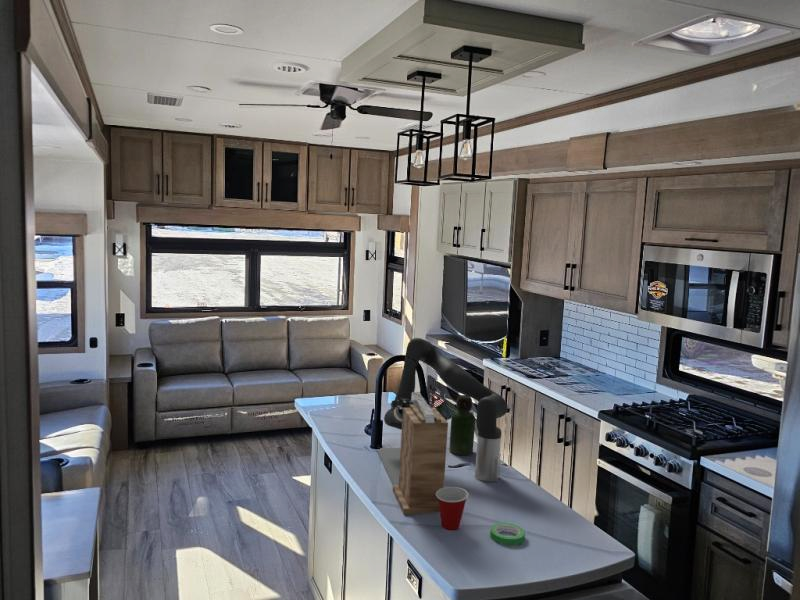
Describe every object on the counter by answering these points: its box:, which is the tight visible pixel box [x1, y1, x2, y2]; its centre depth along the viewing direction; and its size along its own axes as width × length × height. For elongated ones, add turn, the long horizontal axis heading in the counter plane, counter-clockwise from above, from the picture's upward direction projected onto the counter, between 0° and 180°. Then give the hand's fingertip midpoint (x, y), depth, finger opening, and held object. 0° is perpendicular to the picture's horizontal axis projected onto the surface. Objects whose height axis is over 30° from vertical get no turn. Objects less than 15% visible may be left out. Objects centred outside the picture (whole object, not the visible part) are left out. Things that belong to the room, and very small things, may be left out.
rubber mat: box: [376, 447, 401, 486], centre depth 270 cm, size 42×14×1 cm, turn 12°
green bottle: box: [448, 394, 476, 456], centre depth 290 cm, size 10×10×25 cm
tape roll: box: [489, 522, 526, 547], centre depth 215 cm, size 11×11×3 cm
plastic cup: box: [436, 486, 469, 532], centre depth 219 cm, size 11×11×12 cm
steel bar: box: [411, 391, 435, 423], centre depth 240 cm, size 28×3×3 cm, turn 9°
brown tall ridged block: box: [392, 404, 449, 515], centre depth 237 cm, size 20×16×33 cm
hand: (413, 400), depth 253 cm, fingers open, 8 cm apart
